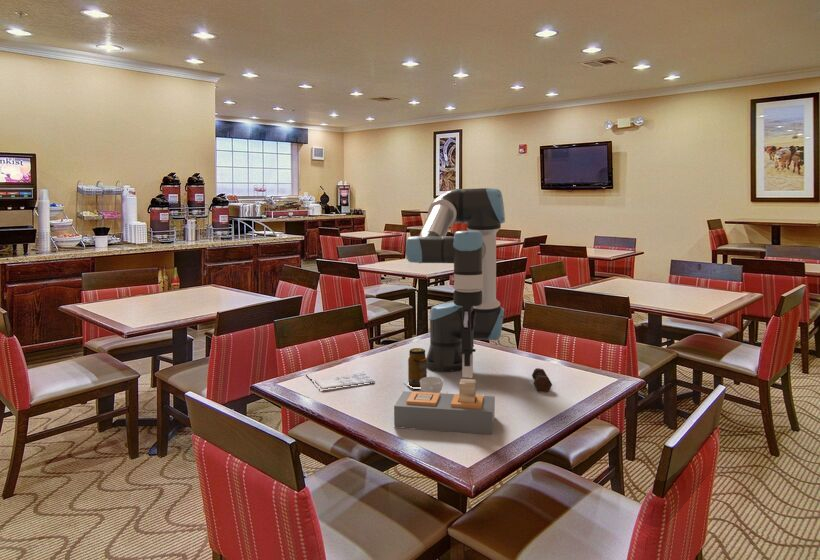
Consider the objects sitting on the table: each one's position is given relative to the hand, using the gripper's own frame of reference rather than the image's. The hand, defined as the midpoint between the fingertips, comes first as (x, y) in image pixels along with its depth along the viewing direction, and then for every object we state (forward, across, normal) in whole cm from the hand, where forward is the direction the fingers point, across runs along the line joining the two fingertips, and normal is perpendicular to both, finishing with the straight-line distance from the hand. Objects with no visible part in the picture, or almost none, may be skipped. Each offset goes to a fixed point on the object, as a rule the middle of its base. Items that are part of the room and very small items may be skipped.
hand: (467, 376), depth 148 cm
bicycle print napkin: (+14, -32, -47) cm, 58 cm away
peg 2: (+8, 0, 0) cm, 8 cm away
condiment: (+14, -29, -19) cm, 37 cm away
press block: (+13, 0, -6) cm, 15 cm away
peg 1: (+13, 0, -12) cm, 18 cm away
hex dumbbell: (+14, -38, +21) cm, 45 cm away
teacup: (+14, -22, -13) cm, 29 cm away
